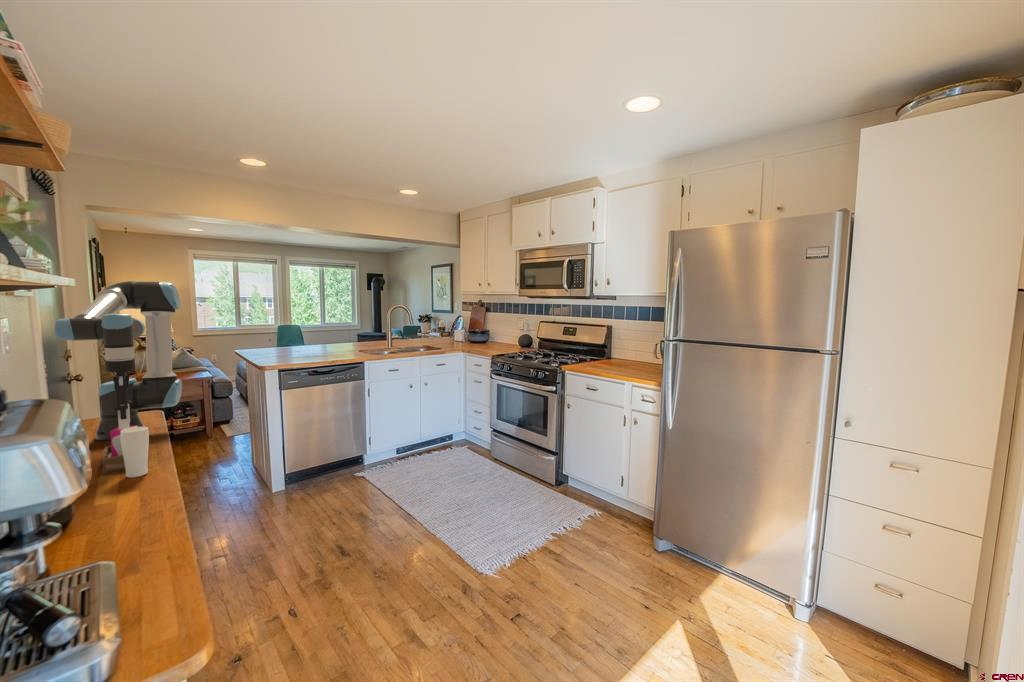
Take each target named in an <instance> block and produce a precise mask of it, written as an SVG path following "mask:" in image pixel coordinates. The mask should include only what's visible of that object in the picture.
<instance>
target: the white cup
mask: <svg viewBox="0 0 1024 682" xmlns="http://www.w3.org/2000/svg"><path fill="white" fill-rule="evenodd" d="M120 440H121V448H122V453H123V459H124V464H125V476H126V477H127V478H129V479H130V478H138V477H143V476H145V475H146V474H148V472H149V468H148V467H149V447H150V435H149V427H147V426H144V427H133V428H127V429H124V430H122V431H120Z"/></svg>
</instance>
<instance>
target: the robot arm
mask: <svg viewBox="0 0 1024 682" xmlns="http://www.w3.org/2000/svg"><path fill="white" fill-rule="evenodd" d="M180 308H181V300H180V296H179V292H178V289H177V286H175V284H174V283H172V282H166V281H134V280H132V281H131V280H128V281H122V282H117V283H114V284H111V285H109V286H107V287H105V288H103V289H101V290H100V291H99V292H97V294H96V296H95V299H94V300H93V301H92V302H91V303H89V304H88V305H87V306H86V307H85V308H83V309H82V310H81V311H80V312H79V313H77V314H76V315H75V316H74V317H73V318H70V317H67V318H59V319H57V320H56V321H55V323H54V329H53V330H54V334H55V336H56V338H57V339H58V340H59V341H71V342H76V341H77V342H78V341H103V349H104V350H101V354H104V359H105V362H104V368H105V372H107V373H115V375H114V376H113V380H112V381H106V382H104V383H102V384H100V385H99V386H98V395H97V396H98V401H99V402H98V404H99V414H100V418H99V419H100V420H99V422H98V426H97V429H96V431H95V440H97V441H111V435H110V431H112V430H114V429H115V428H117V427H119V429H125V428H130V426H138V427H145V426H144V423H143V422H142V420H141V417H140V416H139V410H143V409H159V408H162V409H163V408H170V407H174V406H177V404H178V403H179V402H180V401H181V396H182V392H183V381H182V379H179V378H178V375H177V374H176V373H175V372H174V371H173V341H172V337H173V336H172V317H173V316H175V314H176V310H178V309H180ZM128 309H129V310H130V309H131V310H140V312H139V313H140V314H141V315H143V316H144V317H145V318H144V319H145V324H144V323H143V322H142V320H140V319H138V318H135V317H133V316H132V315H131V314H130V313H118V312H122V311H123V310H128ZM144 333H145V351H146V352H145V354H146V355H145V359H146V361H145V362H146V364H145V365H146V373H144V375H143V376H141V381H137V378H135V377H133V378H130V375H128V373H127V372H133V371H135V370H136V360H135V359H134V358H136V353H135V344H134V340H136V339H137V338H139V337H141V336H142V335H143V334H144Z"/></svg>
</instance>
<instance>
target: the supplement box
mask: <svg viewBox="0 0 1024 682" xmlns="http://www.w3.org/2000/svg"><path fill="white" fill-rule="evenodd" d="M133 427H138V426H130V428H133ZM125 429H127V428H125ZM122 430H124V429H119V427H117V428H115V429H114V430H112V431H110V435H111V440H110V446H111V449H112V457H115V456H122V455H123V453H122V448H121V440H120V431H122Z"/></svg>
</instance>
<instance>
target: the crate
mask: <svg viewBox="0 0 1024 682" xmlns="http://www.w3.org/2000/svg"><path fill="white" fill-rule="evenodd" d="M101 458H102V459H101V461H102V463H101V464H102V475H107V474H106V473H108V474H112V473H111V472H114V473H119V472H125V471H126V470H125V464H124V459H123V455H122V456H115V457H112V449H111V445H108V446H107V445H106V446H105V447H104V449H103V454H102V457H101ZM124 470H125V471H124ZM118 471H119V472H118Z"/></svg>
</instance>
